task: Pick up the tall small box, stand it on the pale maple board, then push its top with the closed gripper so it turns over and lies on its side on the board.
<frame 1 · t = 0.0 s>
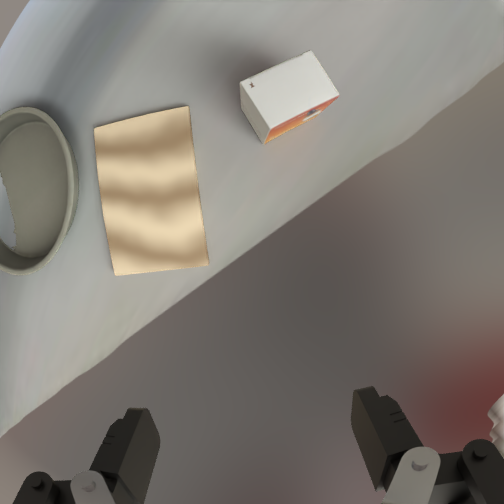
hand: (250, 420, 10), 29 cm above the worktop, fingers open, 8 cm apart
small box: (279, 112, 35), on the worktop
cake pan: (27, 189, 37), on the worktop
maple board: (148, 192, 37), on the worktop
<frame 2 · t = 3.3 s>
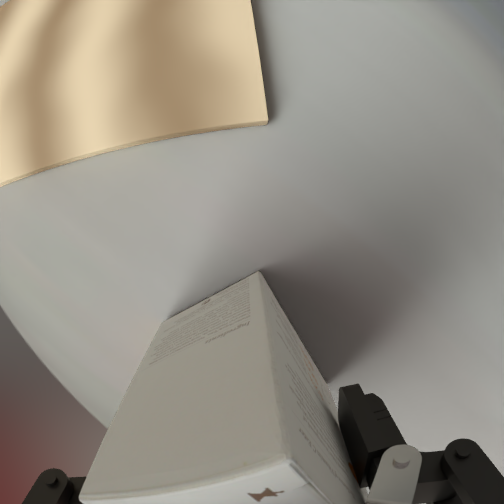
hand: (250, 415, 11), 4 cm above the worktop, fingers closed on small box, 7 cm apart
small box: (250, 356, 15), on the worktop, touching gripper
maple board: (63, 52, 11), on the worktop
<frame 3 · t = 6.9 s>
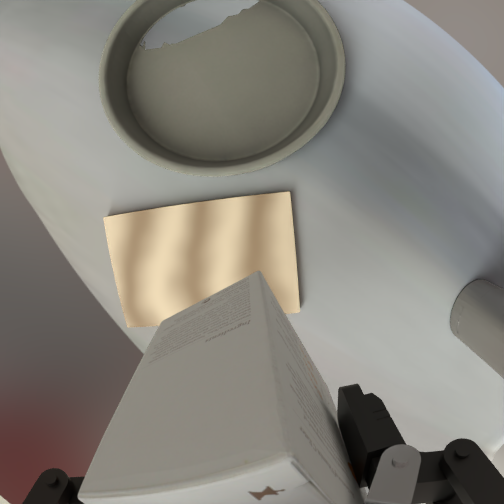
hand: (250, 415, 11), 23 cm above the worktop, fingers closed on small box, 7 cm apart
small box: (250, 355, 15), point 18 cm above the worktop, touching gripper
cake pan: (221, 67, 29), on the worktop
maple board: (201, 263, 33), on the worktop
when the fingers open (7 cm above the worktop, at t = 10.5 s): small box drops 1 cm, resting on maple board.
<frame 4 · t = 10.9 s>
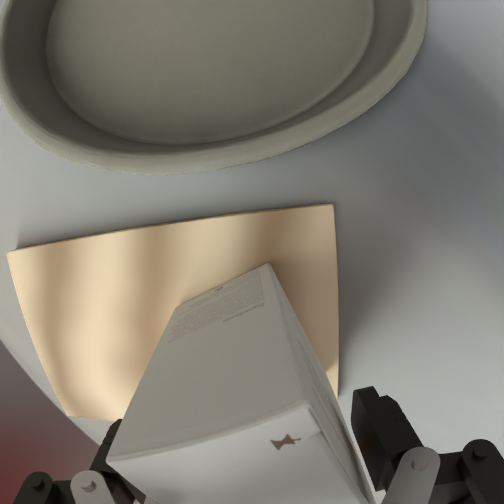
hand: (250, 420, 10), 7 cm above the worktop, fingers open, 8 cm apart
small box: (255, 342, 17), point 1 cm above the worktop, touching maple board
maple board: (164, 335, 17), on the worktop
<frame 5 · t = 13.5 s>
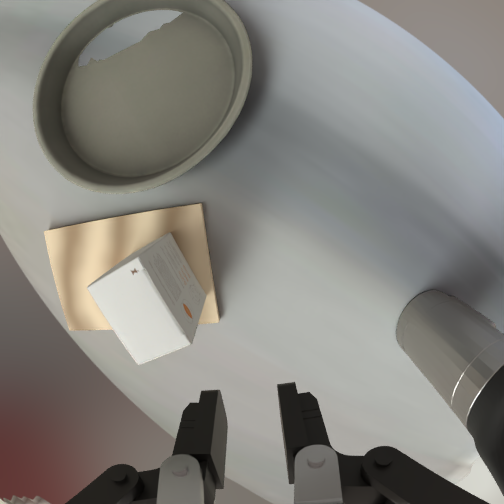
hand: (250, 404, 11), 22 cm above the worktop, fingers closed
small box: (168, 275, 32), point 1 cm above the worktop, touching maple board
cake pan: (140, 84, 29), on the worktop
maple board: (125, 273, 33), on the worktop
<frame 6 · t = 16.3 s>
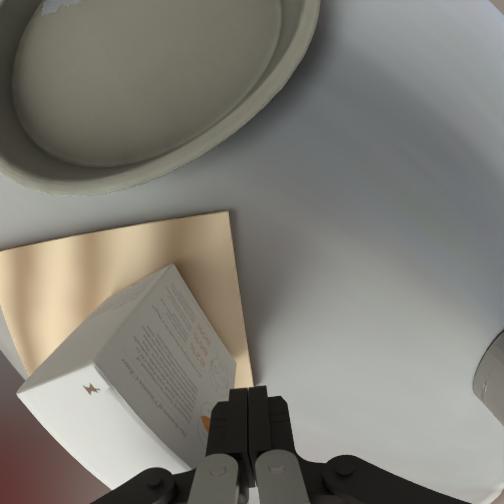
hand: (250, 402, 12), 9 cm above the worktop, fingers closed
small box: (172, 330, 19), point 1 cm above the worktop, touching gripper, maple board
cake pan: (129, 25, 16), on the worktop
maple board: (105, 322, 20), on the worktop
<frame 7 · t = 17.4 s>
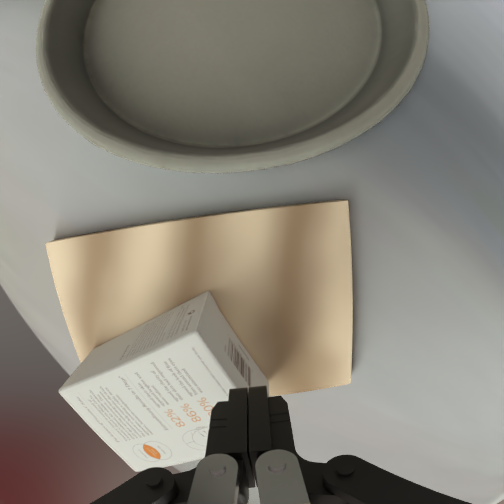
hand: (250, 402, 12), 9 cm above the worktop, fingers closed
small box: (245, 361, 17), point 4 cm above the worktop, touching maple board
cake pan: (228, 5, 16), on the worktop
maple board: (198, 316, 20), on the worktop
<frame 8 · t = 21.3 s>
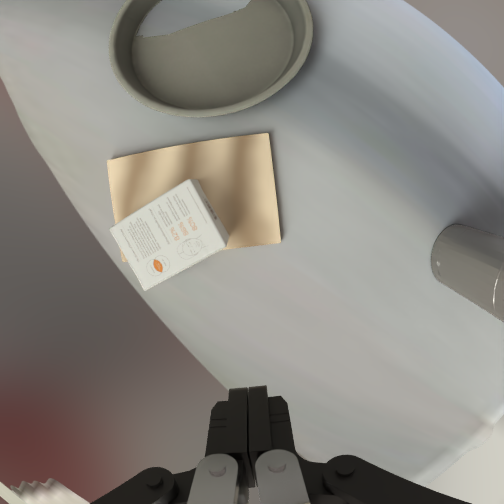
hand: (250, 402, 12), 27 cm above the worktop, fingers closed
small box: (213, 209, 33), point 4 cm above the worktop, touching maple board
cake pan: (210, 37, 32), on the worktop
maple board: (191, 198, 36), on the worktop
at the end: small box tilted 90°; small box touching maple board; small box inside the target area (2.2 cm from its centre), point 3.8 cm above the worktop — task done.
